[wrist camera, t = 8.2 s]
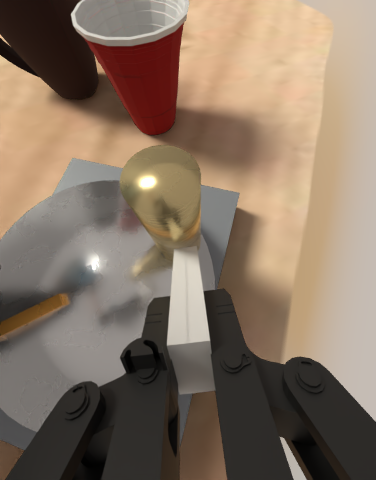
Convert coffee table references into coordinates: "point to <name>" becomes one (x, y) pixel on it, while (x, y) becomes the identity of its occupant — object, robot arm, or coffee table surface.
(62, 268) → the silver disc with stripe
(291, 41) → the coffee table surface
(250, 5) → the coffee table surface
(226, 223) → the stand
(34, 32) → the mug
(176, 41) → the plastic cup
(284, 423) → the robot arm
